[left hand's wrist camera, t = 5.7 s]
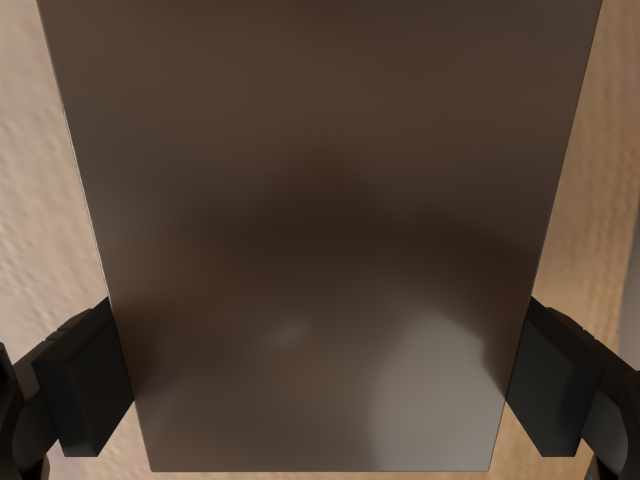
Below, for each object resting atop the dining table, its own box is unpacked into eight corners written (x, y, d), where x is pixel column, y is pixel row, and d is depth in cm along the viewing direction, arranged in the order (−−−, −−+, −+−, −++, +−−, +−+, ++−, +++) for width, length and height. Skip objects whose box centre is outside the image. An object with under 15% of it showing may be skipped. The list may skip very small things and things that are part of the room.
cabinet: (186, -64, 13) (-64, -399, 5) (452, -64, 13) (701, -397, 5) (227, 311, 19) (150, 473, 10) (412, 310, 19) (489, 473, 10)
